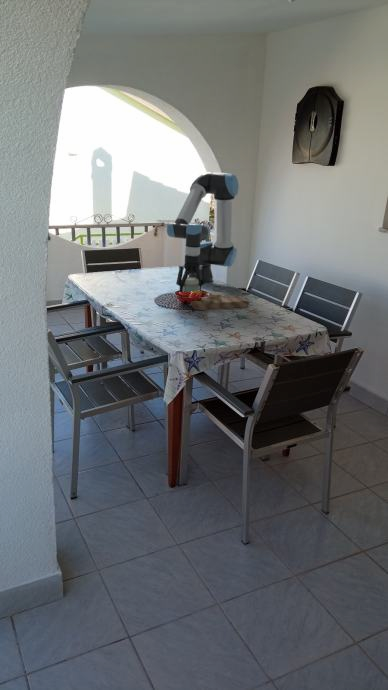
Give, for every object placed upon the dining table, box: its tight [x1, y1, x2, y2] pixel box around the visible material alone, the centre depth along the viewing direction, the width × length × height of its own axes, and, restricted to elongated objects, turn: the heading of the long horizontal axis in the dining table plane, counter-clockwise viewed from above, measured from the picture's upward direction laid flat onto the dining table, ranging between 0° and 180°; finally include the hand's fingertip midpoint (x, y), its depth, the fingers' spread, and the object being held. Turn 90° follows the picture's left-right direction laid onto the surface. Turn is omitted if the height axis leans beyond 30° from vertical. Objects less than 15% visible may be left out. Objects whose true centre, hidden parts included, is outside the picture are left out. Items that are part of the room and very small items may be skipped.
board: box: [188, 295, 249, 311], centre depth 263 cm, size 30×10×3 cm, turn 116°
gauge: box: [200, 291, 223, 303], centre depth 258 cm, size 12×6×4 cm, turn 126°
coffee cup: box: [184, 277, 199, 292], centre depth 266 cm, size 9×8×12 cm
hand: (189, 297), depth 268 cm, fingers open, 8 cm apart
